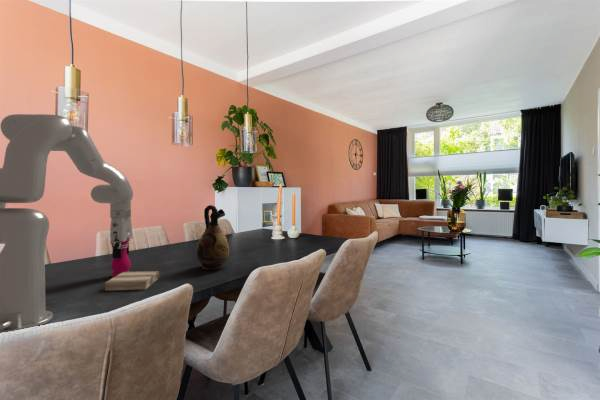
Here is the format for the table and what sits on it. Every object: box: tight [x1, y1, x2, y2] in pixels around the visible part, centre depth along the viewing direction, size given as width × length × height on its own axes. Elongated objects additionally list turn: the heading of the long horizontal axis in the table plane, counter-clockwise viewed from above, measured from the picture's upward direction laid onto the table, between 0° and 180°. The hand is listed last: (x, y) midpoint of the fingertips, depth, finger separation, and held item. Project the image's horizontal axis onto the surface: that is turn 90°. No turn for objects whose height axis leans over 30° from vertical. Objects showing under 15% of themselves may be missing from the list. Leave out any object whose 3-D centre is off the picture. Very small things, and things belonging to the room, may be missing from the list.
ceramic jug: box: [195, 204, 230, 271], centre depth 139 cm, size 17×15×30 cm
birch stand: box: [104, 270, 160, 292], centre depth 114 cm, size 14×14×3 cm
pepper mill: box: [110, 237, 132, 278], centre depth 124 cm, size 7×7×20 cm
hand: (121, 255), depth 124 cm, fingers open, 6 cm apart
